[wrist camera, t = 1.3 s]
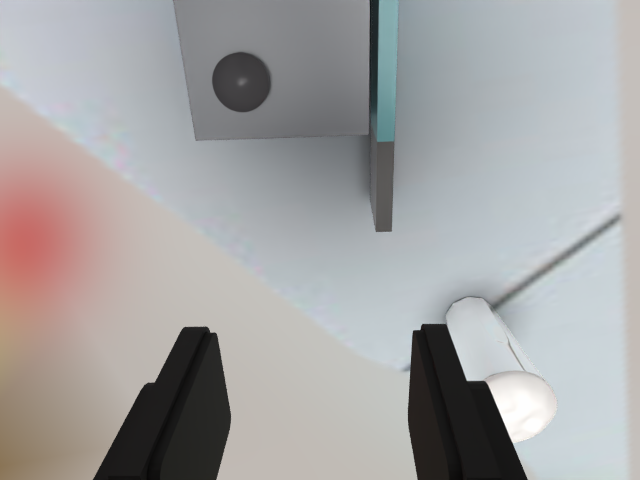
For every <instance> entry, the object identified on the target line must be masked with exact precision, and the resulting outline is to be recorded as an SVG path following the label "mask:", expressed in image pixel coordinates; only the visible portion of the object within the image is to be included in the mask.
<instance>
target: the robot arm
mask: <svg viewBox="0 0 640 480" xmlns="http://www.w3.org/2000/svg"><path fill="white" fill-rule="evenodd" d="M230 423H231V413H230V406H229V401H228V395H227V389H226V384H225V377H224V371H223V366H222V360H221V354H220V348H219V343H218V337H217V334H216V333H210V330H209V328H208V327H184V328H183V329H182V331H181V332H180V334H179V336H178V338H177V340H176V342H175V344H174V346H173V348H172V350H171V352H170V354H169V356H168V358H167V360H166V362H165V364H164V366H163V368H162V370H161V372H160V374H159V375H158V378H157V379H156V381H155V383H147V384H146V385H144V387H143V388H142V389H141V391H140V393H139V395H138V397H137V398H136V400H135V402H134V404H133V406H132V408H131V410H130V412H129V414H128V415H127V417H126V419H125V421H124V423H123V425H122V426H121V428H120V430H119V432H118V434H117V436H116V438H115V440H114V442H113V443H112V445H111V447H110V449H109V451H108V453H107V455H106V457H105V458H104V460H103V462H102V464H101V466H100V468H99V470H98V472H97V473H96V475H95V477H94V479H93V480H216V479H217V475H218V471H219V467H220V464H221V460H222V456H223V452H224V448H225V445H226V441H227V437H228V434H229V430H230ZM408 425H409V432H410V438H411V444H412V449H413V454H414V460H415V466H416V472H417V478H418V480H528V479H527V477H526V475H525V472H524V470H523V467H522V465H521V463H520V460H519V458H518V455H517V453H516V450H515V448H514V446H513V443H512V441H511V438H510V436H509V434H508V431H507V429H506V426H505V424H504V422H503V419H502V417H501V414H500V412H499V409H498V407H497V405H496V402H495V400H494V397H493V395H492V393H491V390H490V388H489V386H488V384H487V383H486V382H485V381H467V380H466V377H465V374H464V371H463V368H462V366H461V363H460V360H459V357H458V355H457V352H456V349H455V346H454V343H453V341H452V338H451V335H450V332H449V330H448V327H447V325H446V324H422V325H421V330H414V331H413V335H412V352H411V369H410V386H409V403H408Z"/></svg>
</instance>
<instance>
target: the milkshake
mask: <svg viewBox="0 0 640 480" xmlns="http://www.w3.org/2000/svg"><path fill="white" fill-rule="evenodd" d="M446 322H447V327H448V330H449V332H450V335H451V338H452V341H453V343H454V346H455V349H456V352H457V355H458V357H459V360H460V363H461V366H462V368H463V371H464V374H465V377H466V380H467V381H485V382H486V383H487V384H488V386H489V388H490V390H491V393H492V395H493V397H494V400H495V402H496V405H497V407H498V409H499V412H500V414H501V417H502V419H503V422H504V424H505V426H506V429H507V431H508V434H509V436H510V438H511V441H512V443H516V442H520V441H524V440H527V439H529V438H532V437H533V436H535V435H537V434H538V433H540V432H541V431H542V430H543V429H544V428H545V427H546V426H547V425H548V424H549V422H550V421H551V420H552V419H553V417H554V416H555V414H556V410H557V399H556V396H555V394H554V392H553V390H552V388H551V387H550V385H549V384H548V382H547V381H546V380H545V378H544V377H543V376H542V375H541V373H540V372H539V371H538V369H537V368H536V367H535V365H534V364H533V363H532V361H531V360H530V359H529V357H528V356H527V355H526V353H525V352H524V351H523V349H522V348H521V346H520V345H519V343H518V342H517V341H516V339H515V338H514V336H513V335H512V333H511V332H510V331H509V329H508V328H507V326H506V325H505V323H504V322H503V321H502V319H501V318H500V316H499V315H498V313H497V312H496V311H495V309H494V308H493V307H492V306H491V305H490V304H489V303H487V302H486V301H485V300H484V299H483V298H474V297H466V298H464V299H461V300H459V301H457V302H455V303H453V304H452V306H451V307H450V309H449V310H448V312H447V313H446Z"/></svg>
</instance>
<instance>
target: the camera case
mask: <svg viewBox="0 0 640 480" xmlns="http://www.w3.org/2000/svg"><path fill="white" fill-rule="evenodd" d="M173 2H174V8H175V15H176V21H177V27H178V33H179V40H180V46H181V52H182V58H183V64H184V71H185V77H186V83H187V89H188V96H189V102H190V108H191V114H192V121H193V127H194V133H195V139H196V141H199V140H229V139H260V138H291V137H322V136H352V135H369V27H370V0H173Z"/></svg>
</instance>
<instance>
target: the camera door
mask: <svg viewBox="0 0 640 480" xmlns="http://www.w3.org/2000/svg"><path fill="white" fill-rule="evenodd" d="M398 7H399V0H372V36H371V162H370V203H371V208H372V214H373V219H374V225H375V230H376V232H391V231H392V202H393V170H394V137H395V105H396V72H397V39H398Z"/></svg>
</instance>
